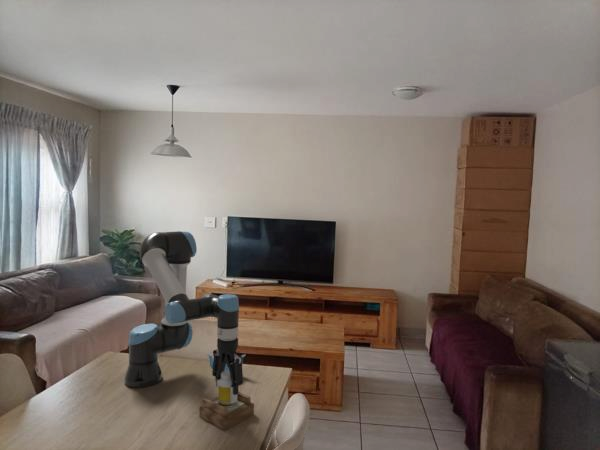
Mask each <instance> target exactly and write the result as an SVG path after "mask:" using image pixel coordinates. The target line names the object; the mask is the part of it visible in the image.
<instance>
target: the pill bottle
mask: <svg viewBox="0 0 600 450" xmlns="http://www.w3.org/2000/svg"><path fill="white" fill-rule="evenodd" d="M221 378H222V379H220V380H219V383H218V404H219V405H221V406H223V407H225V408H228V407H232V406H234V405H235V403H236V402H235V403H233V404H231V403H230V388H231V385H232V381H231V376H230V372H229V371H223V372H222V373H221ZM235 382H236V381H235Z"/></svg>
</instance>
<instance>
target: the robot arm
mask: <svg viewBox="0 0 600 450" xmlns="http://www.w3.org/2000/svg"><path fill="white" fill-rule="evenodd" d="M197 251H198V250H197V242H196V239H195V238H194V235H193V234H192V233H191V232H189V231H179V230H178V231H165V232H164V231H163V232H159V231H158V232H153V233H151V234H149V235H148V236H146V237H145V238H144V239H143V241H142V243H141V245H140V248H139V258H140V260H141V262H142V264H143V265H144V266H145V267H146V268H148V270H149V272H150V273H151V275H152V277H153V279H154V281H155V283H156V285H157V287H158V289H159V291H160V293H161V295H162V296H163V299H164V301H165V305H164V317H163V318H161V321H160V325H159V326H158V325H157V324H156V323H144V324H141V325H138V326H135V327H133V328H132V329H131V330H130V332H129V334H128V335H129V336H128V340H127V341H128V365H127V369H126V372H125V375H124V385H126V386H127V387H130V388H134V389H135V388H136V389H137V388H148V387H151V386H155V385H156V384H158V383H159V382H160V381H162V378H163V375H162V374H163V372H162V369H161V367H160V364H159V358H158V356H159V354H162V353H163V354H164V353H166V352H171V351H175V350H181V349H183V348H186V347H188V346H189V345H190V344H191V342H192V339H193V335H194V334H193V333H194V331H193V326H192V324H191V323H190V322H191V321H194V320H195V321H196V320H200V319H205V318H210V317H213V318H216V319H217V325H216V326H217V341H216V349H214V350H212V354H213V355H212V358H213V369H212V374H211V376H212V377H215V379H216V383H215V384H216V385H215V387H216V398H217V397H218V383H219V380H220V379H222V378H221V373H222V372H223V371H224V369H225V366H226V364H227V367H228V368H229V372H230V376H231V381H232V385H231V388H230V403H231V404H233V403H235V402H237V394H238V392H239V386H241V385H243V384H244V377H243V376H244V375H243V364H242V361H244V358H242V357H241V356H238V354H237V353H238V352H237V350H238V348H239V313H240V311H239V309H240V305H239V304H240V303H239V297H238V295H236V294H230V293H226V294H221V295H219V296H218V295H216V294H213V293H206V294H205V295H203V296H202V297H198V298H189V297H188V295H187V294H186V292H187V291H186V290H187V274H188V271H187V270H188V265H189V264H191V260H192V258H193V257H195V256H196V254H197ZM231 363H232V364H231ZM235 381H236V382H235Z"/></svg>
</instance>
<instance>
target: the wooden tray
mask: <svg viewBox="0 0 600 450" xmlns="http://www.w3.org/2000/svg"><path fill="white" fill-rule="evenodd" d="M198 409H199V410H198V413H199V417H200V418H202V419H203V420H206V422H209V423H211V424H212V425H214V426H216V427H218V428H220V429H222V430H224V431H227V430H229V429H230V428H232V427H234V426H235V425H237V424H239V423H241V422H243V421H244V420H246V419H248V418H249V417H251V416H253V415H255V414H254V413H255V403H253V402H252V400H251V396H249V395H247V394H245V393H242V392H241V391H238V394H237V402H236V403H235V405H234V406H232V407H228V408H225V407H223V406H221V405H219V404H218V397H217V396H216V397H215V398H212V399H208V398H207V397H204V398H203V399H202V404H200V405H199V406H198Z"/></svg>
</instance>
